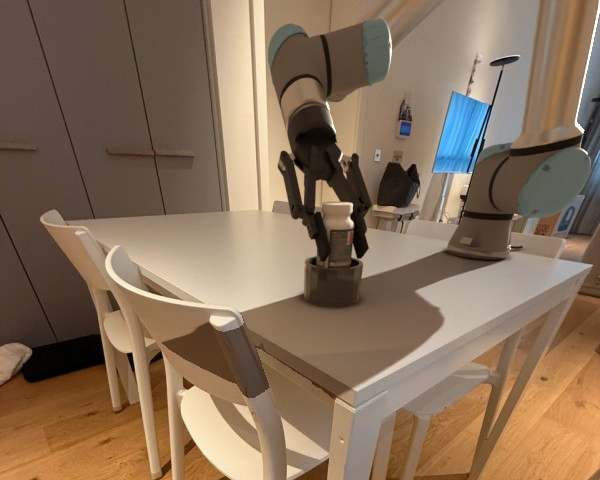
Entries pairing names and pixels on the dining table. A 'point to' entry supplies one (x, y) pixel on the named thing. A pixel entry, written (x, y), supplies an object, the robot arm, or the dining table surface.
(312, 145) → the robot arm
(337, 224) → the pill bottle
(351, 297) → the cylindrical container
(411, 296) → the dining table surface
